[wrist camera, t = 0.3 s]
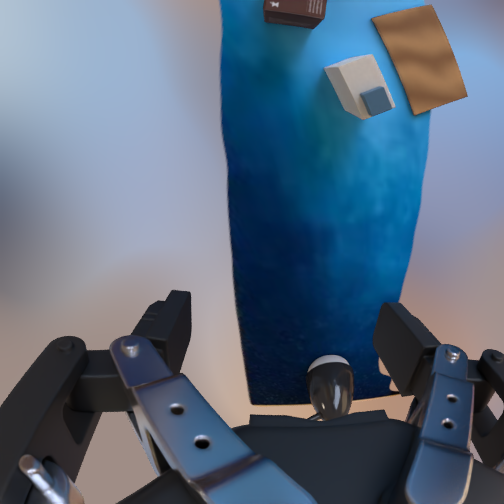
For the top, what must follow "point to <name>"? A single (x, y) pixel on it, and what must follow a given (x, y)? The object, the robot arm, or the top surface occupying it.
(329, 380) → the pump dispenser
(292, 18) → the box
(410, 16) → the wooden board
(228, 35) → the top surface
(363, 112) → the white and blue block
